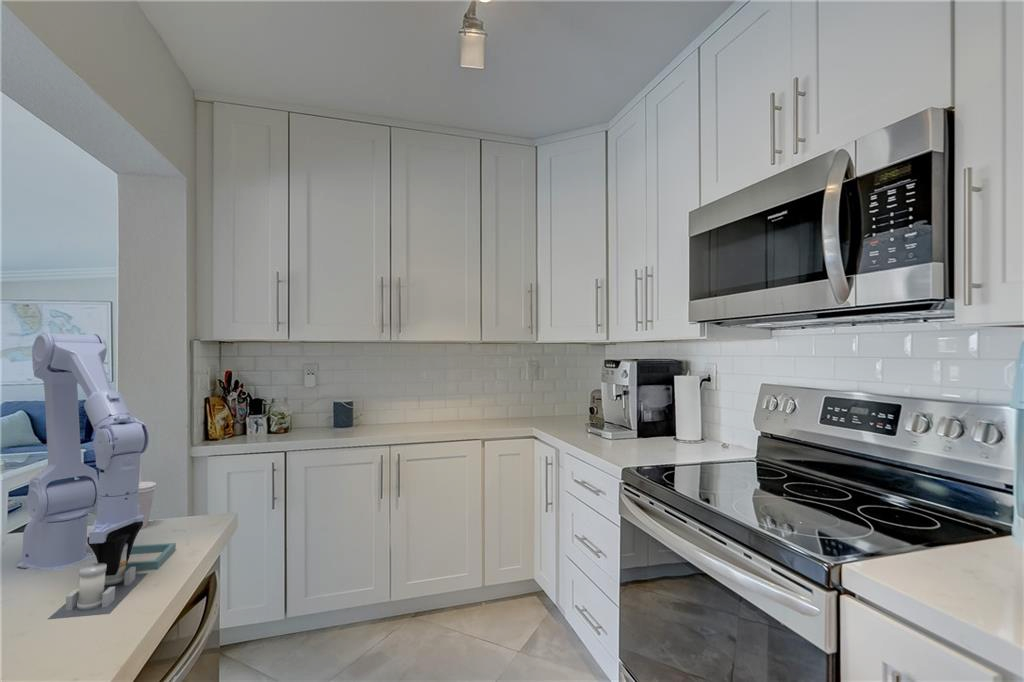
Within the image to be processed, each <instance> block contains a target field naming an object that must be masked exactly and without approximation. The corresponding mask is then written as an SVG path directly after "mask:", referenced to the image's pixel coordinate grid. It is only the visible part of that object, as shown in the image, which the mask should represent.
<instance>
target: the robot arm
mask: <svg viewBox="0 0 1024 682" xmlns="http://www.w3.org/2000/svg"><path fill="white" fill-rule="evenodd" d="M107 349H108V347H107V343H106V340H105V338H104V337H103V336H102V335H101V334H99V333H98V334H97V333H95V334H82V333H81V334H79V333H55V332H54V333H52V332H47V331H43V332H41V333H39V334H38V335H37V337H35V340H34V343H33V345H32V347H31V354H32V355H31V358H32V371H33V376H34V378H38V379H40V380H42V381H43V391H44V406H45V407H44V409H45V429H46V447H47V449H46V451H47V466H46V467H45V468H44V469H42V470H41V471H40V472H38V473H36V475H34V476H33V477H32V478H31V479H30V480H29V483H28V492H27V496H26V510H27V513H28V515H29V516H30V517H31V519H30V520H29V521H28V522H27V524H26V526H25V528H24V530H23V533H22V534H23V536H22V555H21V562H19V563H17V564H16V567H17V568H22V569H30V568H36V569H42V570H49V571H59V570H63V569H65V568H67V567H69V566H70V567H71V566H72V565H75V564H78V563H81V562H83V561H85V560H88V559H90V558H93V557H95V558H96V562H97V563H105V564H107V568H106V572H105V576H111V575H116V574H117V572H118V569H119V565H120V560H121V555H122V551H123V548H124V545H125V543H127V544H128V549H127V554H126V559H127V560H126V565H127V562H129V560H130V556H131V554H130V553H131V550H132V546H133V545H134V544H135V540H136V538H137V536H138V534H139V532H140V531H141V527H142V526H143V521H142V520H144V519H145V515H140V509H141V505H138V491H139V473H140V466H141V454H143V453H145V452H146V451H147V449H148V447H149V441H150V435H149V430H148V428H147V425H146V423H144V422H143V421H141V420H139V418H138V417H133V416H132V414H131V411H130V409H129V407H128V405H127V402H126V401H125V399H124V396H123V395H122V393H121V392H119V391H116V390H112V388H111V384H110V382H109V378H108V375H107V373H106V369H105V367H104V363H105V360H106V356H107V351H108V350H107ZM78 384H79V385H80V386H81V389H82V391H83V392H84V394H85V396H87V399H86V400H85V402H84V404H83V408H84V411H85V412H86V415H87V417H88V420H89V422H90V424H91V426H92V428H93V431H94V433H95V434H94V437H93V441H92V446H93V452H94V454H95V465H96V466H95V467H96V468H97V469H98V472H97V470H96V469H95V468H93V467H91V466H89V465H87V464H85V463H83V462H82V450H81V446H82V445H81V431H80V429H81V427H80V414H79V413H80V411H79V394H78ZM71 478H77V479H72V480H71ZM65 479H66V481H65ZM67 479H70V480H67ZM57 480H58V481H60V480H64V481H60V482H54V481H57ZM53 482H54V483H53ZM94 508H96V518H95V520H94V522H93V528H92V529H91V530H90V531H89V533H88V523H89V521H88V520H89V519H88V518H89V514H92V513H93V509H94ZM88 534H89V536H88ZM87 545H88V546H89V547H90V548H91V550H92V551H93V553H92V552H87Z"/></svg>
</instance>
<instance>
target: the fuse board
mask: <svg viewBox="0 0 1024 682" xmlns="http://www.w3.org/2000/svg"><path fill="white" fill-rule="evenodd" d="M136 572H137V571H136V567H130V568H129V569H128V570H127V571H126V572H125V577H124V581H122V582H120V583H117V584H113V585H105V586H104V593H103V594H102V605H101V606H100V607H97V608H95V609H91V610H78V609H77V602H78V595H79V588H77V589H74V590H72V591H71V592H70V593H69V594H67V595H66V596H65V603H64V604H63V605H62V606H61V607H60V608H58V609H57V611H54V613H53V614H51V615H50V616H49V617H48V618H47V620H55V619H65V618H66V619H68V618H76V617H77V618H78V617H88V616H89V617H90V616H100V615H110V614H111V613H112V612H113V611H114V610H115V609H116V608H117V607H118V606H119V605H120V604H121V602H122V601H124V599H125V598H126V597H127V596H128V595H129V594H131V592H132V591H133V590H134V589H135V587H137V586H138V585H139V584H140V583H141V581H142V580H143V579H144V578H145V577H146V576H147V575H148V574H149V573H148V572H143V573H136Z"/></svg>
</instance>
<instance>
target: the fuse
mask: <svg viewBox="0 0 1024 682" xmlns="http://www.w3.org/2000/svg"><path fill="white" fill-rule="evenodd" d="M106 568H107V564H105V563H98V562H97V563H96V562H95V563H89V564H85V565H83V566H82V567H80V568H79V571H78V573H79V574H78V576H79V583H78V589H79V595H78V602H77V609H78V610H91V609H95V608H97V607H100V606H101V605H102V594H103V593H104V586H105V572H106Z"/></svg>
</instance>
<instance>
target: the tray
mask: <svg viewBox="0 0 1024 682" xmlns="http://www.w3.org/2000/svg"><path fill="white" fill-rule="evenodd" d="M176 545H177V543H176V542H169V543H168V542H167V543H153V544H151V543H150V544H136V545H135V544H133V546H132V550H131V553H130V555H137V554H138V555H140V554H153V553H154V554H155V553H157V554H159V553H160V554H159V555H158V556H157V557H156V558H155V559H153V560H152V559H151V560H140V561H139V560H138V561H128V562H127V565H126V571H127V570H128V569H129V568H130V567H136V572H139V571H140V572H142V571H155V570H159V569H160V567H161V566H163V564H165V562H166V561H167V560H168V559H169V558H170V557H171V555H172V554H174V552H175V551H176V550H177V549H176Z"/></svg>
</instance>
